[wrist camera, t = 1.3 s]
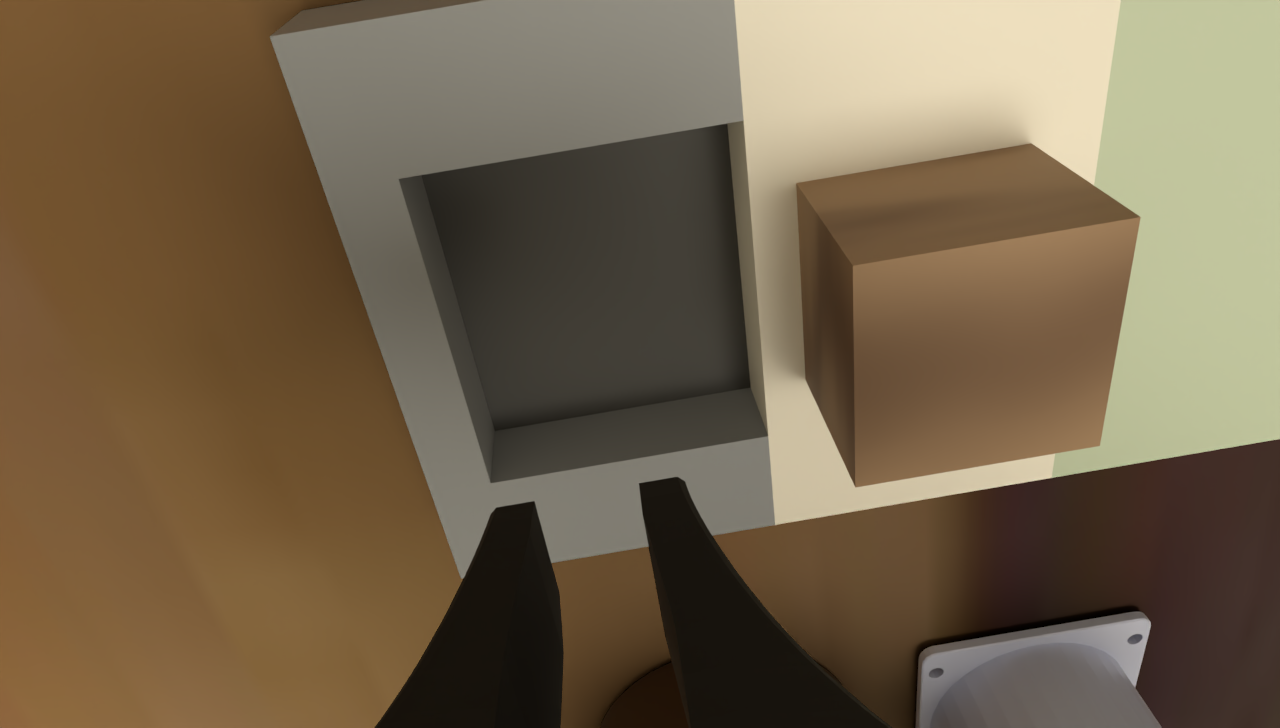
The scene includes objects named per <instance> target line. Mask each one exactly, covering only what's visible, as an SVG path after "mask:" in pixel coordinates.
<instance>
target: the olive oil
mask: <svg viewBox="0 0 1280 728" xmlns="http://www.w3.org/2000/svg"><path fill="white" fill-rule="evenodd" d="M819 666H820V665H819ZM820 667H821V666H820ZM821 668H822V669H823V670H824V671H826V672H827V673H828V674H829V675H830V676H831V677H832V678H833V679H835V680H836V681H837V682H838V683H839V684H840V685H841V686H842V684H841V683H840V682H839V681H838V680H837V679H836V678H835V677H834V676H833V675H832V674H831V673H830V672H829V671H827V670H826V669H825V668H823V667H821ZM600 728H689V727H688V723H687V719H686V715H685V711H684V707H683V703H682V699H681V695H680V691H679V688H678V684H677V680H676V676H675V672H674V668H673V664H672V662H671V663H669V664H666V665H664V666H662V667H660V668H658V669H656V670H654V671H653V672H651V673H649V674H647V675H646V676H644V677H643V678H641V679H640V680H638V681H637V682H636V683H634V684H633V685H632V686H631V687H629V688H628V689H627V690H626V691H625V692H624V693H623V694H622V695H621V696H620V697H619V698H618V699H617V700H616V701H615V702H614V704H613V705H612V706H611V708H610V709H609V710H608V712H607V714H606V715H605V717H604V719H603V722H602V724H601V727H600Z"/></svg>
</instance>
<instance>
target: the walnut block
mask: <svg viewBox="0 0 1280 728" xmlns="http://www.w3.org/2000/svg"><path fill="white" fill-rule="evenodd" d="M796 190H797V211H798V232H799V253H800V274H801V295H802V316H803V338H804V359H805V380H806V382H807V384H808V386H809V388H810V391H811V393H812V395H813V397H814V399H815V401H816V404H817V406H818V408H819V410H820V412H821V414H822V417H823V419H824V421H825V423H826V425H827V427H828V430H829V432H830V434H831V436H832V438H833V440H834V442H835V445H836V447H837V449H838V451H839V453H840V455H841V458H842V460H843V462H844V464H845V466H846V468H847V471H848V473H849V475H850V477H851V479H852V481H853V484H854V486H855V488H856V487H862V486H868V485H874V484H879V483H885V482H891V481H897V480H903V479H909V478H915V477H921V476H926V475H932V474H938V473H944V472H950V471H956V470H962V469H967V468H973V467H979V466H985V465H991V464H997V463H1003V462H1009V461H1014V460H1020V459H1026V458H1032V457H1038V456H1044V455H1050V454H1056V453H1061V452H1067V451H1073V450H1079V449H1085V448H1091V447H1097V446H1100V442H1101V437H1102V431H1103V425H1104V420H1105V414H1106V409H1107V403H1108V397H1109V392H1110V386H1111V381H1112V375H1113V369H1114V364H1115V358H1116V353H1117V347H1118V341H1119V336H1120V330H1121V325H1122V319H1123V314H1124V308H1125V302H1126V297H1127V291H1128V286H1129V280H1130V274H1131V269H1132V263H1133V258H1134V252H1135V246H1136V241H1137V235H1138V230H1139V224H1140V218H1141V217H1140V216H1138V215H1137V214H1135V213H1134V212H1132V211H1131V210H1130V209H1128V208H1127V207H1125V206H1124V205H1122V204H1121V203H1119V202H1118V201H1116V200H1115V199H1113V198H1112V197H1110V196H1109V195H1107V194H1106V193H1104V192H1103V191H1101V190H1100V189H1098V188H1097V187H1095V186H1094V185H1092V184H1091V183H1089V182H1088V181H1087V180H1085V179H1084V178H1082V177H1081V176H1079V175H1078V174H1076V173H1075V172H1073V171H1072V170H1070V169H1069V168H1067V167H1066V166H1064V165H1063V164H1061V163H1060V162H1058V161H1057V160H1055V159H1054V158H1052V157H1051V156H1049V155H1048V154H1046V153H1045V152H1043V151H1042V150H1041V149H1039V148H1038V147H1036V146H1035V145H1033V144H1032V143H1030V144H1024V145H1019V146H1013V147H1007V148H1001V149H995V150H989V151H983V152H977V153H971V154H965V155H959V156H953V157H948V158H942V159H936V160H930V161H924V162H918V163H912V164H906V165H900V166H894V167H888V168H882V169H877V170H871V171H865V172H859V173H853V174H847V175H841V176H835V177H829V178H823V179H817V180H812V181H806V182H800V183H796Z"/></svg>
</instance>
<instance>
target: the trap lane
mask: <svg viewBox="0 0 1280 728" xmlns="http://www.w3.org/2000/svg"><path fill="white" fill-rule="evenodd" d="M270 39H271V42H272V45H273V47H274V50H275V53H276V56H277V59H278V62H279V64H280V67H281V70H282V73H283V76H284V79H285V81H286V84H287V87H288V90H289V93H290V96H291V98H292V101H293V104H294V107H295V110H296V113H297V115H298V118H299V121H300V124H301V127H302V130H303V132H304V135H305V138H306V141H307V144H308V147H309V149H310V152H311V155H312V158H313V161H314V164H315V166H316V169H317V172H318V175H319V178H320V180H321V183H322V186H323V189H324V192H325V195H326V197H327V200H328V203H329V206H330V209H331V212H332V214H333V217H334V220H335V223H336V226H337V229H338V231H339V234H340V237H341V240H342V243H343V246H344V248H345V251H346V254H347V257H348V260H349V263H350V265H351V268H352V271H353V274H354V277H355V280H356V282H357V285H358V288H359V291H360V294H361V297H362V299H363V302H364V305H365V308H366V311H367V314H368V316H369V319H370V322H371V325H372V328H373V331H374V333H375V336H376V339H377V342H378V345H379V347H380V350H381V353H382V356H383V359H384V362H385V364H386V367H387V370H388V373H389V376H390V379H391V381H392V384H393V387H394V390H395V393H396V396H397V398H398V401H399V404H400V407H401V410H402V413H403V415H404V418H405V421H406V424H407V427H408V430H409V432H410V435H411V438H412V441H413V444H414V447H415V449H416V452H417V455H418V458H419V461H420V464H421V466H422V469H423V472H424V475H425V478H426V481H427V483H428V486H429V489H430V492H431V495H432V498H433V500H434V503H435V506H436V509H437V512H438V514H439V517H440V520H441V523H442V526H443V529H444V531H445V534H446V537H447V540H448V543H449V546H450V548H451V551H452V554H453V557H454V560H455V563H456V565H457V568H458V571H459V574H460V577H461V578H464V577H465V575H466V572H467V570H468V568H469V566H470V563H471V561H472V559H473V557H474V555H475V552H476V550H477V548H478V545H479V543H480V540H481V538H482V535H483V533H484V530H485V528H486V525H487V523H488V520H489V517H490V515H491V513H492V512H493V511H494V510H495V508H496V507H502V506H508V505H514V504H520V503H526V502H532V501H535V505H536V509H537V513H538V516H539V520H540V524H541V527H542V531H543V535H544V538H545V542H546V546H547V549H548V553H549V557H550V560H551V563H554V562H560V561H566V560H572V559H578V558H584V557H590V556H596V555H601V554H607V553H613V552H619V551H625V550H631V549H637V548H643V547H648V546H649V545H648V540H647V535H646V529H645V524H644V519H643V513H642V505H641V497H640V488H639V483H643V482H649V481H655V480H661V479H667V478H673V477H679V478H680V479H682V480H684V481H685V482H686V486H687V489H688V491H689V493H690V496H691V498H692V500H693V502H694V504H695V506H696V508H697V510H698V512H699V514H700V516H701V518H702V519H703V521H704V523H705V525H706V526H707V528H708V530H709V531H710V533H711V535H712V536H713V535H719V534H725V533H731V532H736V531H742V530H748V529H754V528H760V527H766V526H772V525H778V524H783V523H789V522H795V521H801V520H807V519H813V518H819V517H824V516H830V515H836V514H842V513H848V512H854V511H860V510H866V509H871V508H877V507H883V506H889V505H895V504H901V503H907V502H913V501H918V500H924V499H930V498H936V497H942V496H948V495H954V494H959V493H965V492H971V491H977V490H983V489H989V488H995V487H1001V486H1006V485H1012V484H1018V483H1024V482H1030V481H1036V480H1042V479H1048V478H1053V477H1059V476H1065V475H1071V474H1077V473H1083V472H1089V471H1095V470H1100V469H1106V468H1112V467H1118V466H1124V465H1130V464H1136V463H1141V462H1147V461H1153V460H1159V459H1165V458H1171V457H1177V456H1183V455H1188V454H1194V453H1200V452H1206V451H1212V450H1218V449H1224V448H1230V447H1235V446H1241V445H1247V444H1253V443H1259V442H1265V441H1271V440H1276V439H1280V0H362V1H356V2H350V3H344V4H338V5H332V6H326V7H320V8H314V9H308V10H302V11H301V12H299V13H298V14H297V15H296V16H294V17H293V18H292V19H291V20H289V21H288V22H287V23H286V24H284V25H283V26H282V27H281V28H280V29H278V30H277V31H276V32H275V33H273V34H272V35H271V36H270ZM1030 143H1032V144H1033V145H1035V146H1036V147H1038V148H1039V149H1041V150H1042V151H1043V152H1045V153H1046V154H1048V155H1049V156H1051V157H1052V158H1054V159H1055V160H1057V161H1058V162H1060V163H1061V164H1063V165H1064V166H1066V167H1067V168H1069V169H1070V170H1072V171H1073V172H1075V173H1076V174H1078V175H1079V176H1081V177H1082V178H1084V179H1085V180H1087V181H1088V182H1089V183H1091V184H1092V185H1094V186H1095V187H1097V188H1098V189H1100V190H1101V191H1103V192H1104V193H1106V194H1107V195H1109V196H1110V197H1112V198H1113V199H1115V200H1116V201H1118V202H1119V203H1121V204H1122V205H1124V206H1125V207H1127V208H1128V209H1130V210H1131V211H1132V212H1134V213H1135V214H1137V215H1138V216H1140V217H1141V218H1140V224H1139V230H1138V235H1137V241H1136V246H1135V252H1134V258H1133V263H1132V269H1131V274H1130V280H1129V286H1128V291H1127V297H1126V302H1125V308H1124V314H1123V319H1122V325H1121V330H1120V336H1119V341H1118V347H1117V353H1116V358H1115V364H1114V369H1113V375H1112V381H1111V386H1110V392H1109V397H1108V403H1107V409H1106V414H1105V420H1104V425H1103V431H1102V437H1101V442H1100V446H1097V447H1091V448H1085V449H1079V450H1073V451H1067V452H1061V453H1056V454H1050V455H1044V456H1038V457H1032V458H1026V459H1020V460H1014V461H1009V462H1003V463H997V464H991V465H985V466H979V467H973V468H967V469H962V470H956V471H950V472H944V473H938V474H932V475H926V476H921V477H915V478H909V479H903V480H897V481H891V482H885V483H879V484H874V485H868V486H862V487H856V488H855V486H854V484H853V481H852V479H851V477H850V475H849V473H848V471H847V468H846V466H845V464H844V462H843V460H842V458H841V455H840V453H839V451H838V449H837V447H836V445H835V442H834V440H833V438H832V436H831V434H830V432H829V430H828V427H827V425H826V423H825V421H824V419H823V417H822V414H821V412H820V410H819V408H818V406H817V404H816V401H815V399H814V397H813V395H812V393H811V391H810V388H809V386H808V384H807V382H806V380H805V359H804V338H803V316H802V295H801V274H800V253H799V232H798V211H797V190H796V183H800V182H806V181H812V180H817V179H823V178H829V177H835V176H841V175H847V174H853V173H859V172H865V171H871V170H877V169H882V168H888V167H894V166H900V165H906V164H912V163H918V162H924V161H930V160H936V159H942V158H948V157H953V156H959V155H965V154H971V153H977V152H983V151H989V150H995V149H1001V148H1007V147H1013V146H1019V145H1024V144H1030Z"/></svg>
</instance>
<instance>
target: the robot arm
mask: <svg viewBox="0 0 1280 728" xmlns="http://www.w3.org/2000/svg"><path fill="white" fill-rule="evenodd" d="M639 488H640V497H641V505H642V513H643V519H644V524H645V529H646V535H647V540H648V545H649V551H650V556H651V562H652V567H653V572H654V578H655V583H656V589H657V594H658V599H659V605H660V610H661V615H662V621H663V626H664V632H665V636H666V640H667V644H668V648H669V652H670V656H671V660H672V664H673V668H674V672H675V676H676V680H677V684H678V688H679V691H680V695H681V699H682V703H683V707H684V711H685V715H686V719H687V723H688V727H689V728H892V727H891V726H889V725H888V724H887V723H885V722H884V721H883V720H882V719H880V718H879V717H878V716H876V715H875V714H874V713H873V712H871V711H870V710H869V709H868V708H867V707H866V706H864V705H863V704H862V703H861V702H860V701H859V700H858V699H856V698H855V697H854V696H853V695H852V694H851V693H849V692H848V691H847V690H846V689H845V688H844V687H843V686H841V685H840V684H839V683H838V682H837V681H836V680H835V679H833V678H832V677H831V676H830V675H829V674H828V673H827V672H826V671H824V670H823V669H822V668H821V667H820V666H819V665H818V664H817V663H816V662H815V661H814V660H813V659H812V658H811V657H810V656H809V655H808V654H807V653H806V652H805V651H804V650H803V649H802V648H801V647H800V646H799V645H798V644H797V643H796V642H795V641H794V640H793V638H792V637H791V636H790V635H789V634H788V633H787V632H786V631H785V630H784V629H783V628H782V627H781V626H780V624H779V623H778V622H777V621H776V620H775V619H774V618H773V617H772V615H771V614H770V613H769V612H768V611H767V610H766V608H765V607H764V606H763V605H762V603H761V602H760V601H759V600H758V599H757V597H756V596H755V595H754V594H753V592H752V591H751V590H750V589H749V587H748V586H747V585H746V583H745V582H744V581H743V579H742V578H741V577H740V576H739V574H738V573H737V571H736V570H735V569H734V567H733V566H732V564H731V563H730V561H729V560H728V559H727V557H726V556H725V554H724V553H723V551H722V550H721V549H720V547H719V546H718V544H717V543H716V541H715V539H714V538H713V536H712V535H711V533H710V531H709V530H708V528H707V526H706V525H705V523H704V521H703V519H702V518H701V516H700V514H699V512H698V510H697V508H696V506H695V504H694V502H693V500H692V498H691V496H690V493H689V491H688V489H687V486H686V482H685V481H684V480H682V479H680V478H679V477H673V478H667V479H661V480H655V481H649V482H643V483H639ZM1150 627H1151V622H1150V621H1149V619H1148V618H1147V617H1146V615H1145V614H1144V613H1142V612H1128V613H1122V614H1116V615H1110V616H1105V617H1099V618H1093V619H1087V620H1081V621H1075V622H1070V623H1064V624H1058V625H1052V626H1046V627H1040V628H1034V629H1029V630H1023V631H1017V632H1011V633H1005V634H999V635H993V636H988V637H982V638H976V639H970V640H964V641H958V642H953V643H947V644H941V645H935V646H931V647H928V648H926V649H924V650H923V651H922V652H921V653H920V656H919V662H918V684H917V706H916V728H1162V727H1161V726H1160V724H1159V723H1158V721H1157V720H1156V718H1155V717H1154V715H1153V714H1152V712H1151V711H1150V709H1149V708H1148V706H1147V705H1146V703H1145V702H1144V700H1143V699H1142V697H1141V696H1140V695H1139V693H1138V692H1137V690H1136V689H1135V687H1136V683H1137V679H1138V675H1139V671H1140V667H1141V663H1142V659H1143V655H1144V651H1145V647H1146V643H1147V639H1148V635H1149V631H1150ZM562 678H563V637H562V622H561V609H560V596H559V590H558V586H557V582H556V579H555V575H554V571H553V568H552V564H551V560H550V557H549V553H548V549H547V546H546V542H545V538H544V535H543V531H542V527H541V524H540V520H539V516H538V513H537V509H536V505H535V501H532V502H526V503H520V504H514V505H508V506H502V507H496V508H495V510H494V511H493V512H492V513H491V515H490V517H489V520H488V523H487V525H486V528H485V530H484V533H483V535H482V538H481V540H480V543H479V545H478V548H477V550H476V552H475V555H474V557H473V559H472V561H471V563H470V566H469V568H468V570H467V572H466V575H465V577H464V579H463V581H462V583H461V585H460V587H459V589H458V591H457V593H456V595H455V597H454V599H453V601H452V603H451V605H450V607H449V609H448V611H447V613H446V615H445V617H444V619H443V620H442V622H441V624H440V626H439V628H438V629H437V631H436V633H435V635H434V636H433V638H432V640H431V642H430V643H429V645H428V647H427V649H426V650H425V652H424V654H423V656H422V657H421V659H420V661H419V662H418V664H417V666H416V667H415V669H414V671H413V672H412V674H411V675H410V677H409V678H408V680H407V682H406V683H405V685H404V686H403V688H402V689H401V691H400V692H399V694H398V695H397V697H396V698H395V700H394V701H393V703H392V704H391V705H390V707H389V708H388V710H387V711H386V713H385V714H384V716H383V717H382V718H381V720H380V721H379V722H378V724H377V725H376V726H375V728H560V724H561V702H562Z"/></svg>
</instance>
